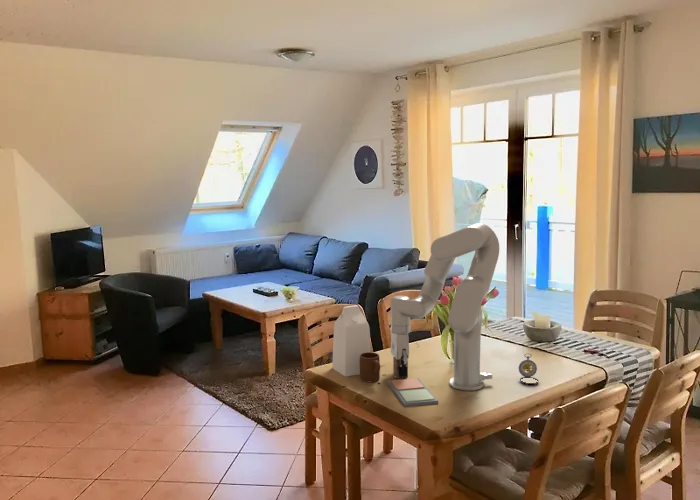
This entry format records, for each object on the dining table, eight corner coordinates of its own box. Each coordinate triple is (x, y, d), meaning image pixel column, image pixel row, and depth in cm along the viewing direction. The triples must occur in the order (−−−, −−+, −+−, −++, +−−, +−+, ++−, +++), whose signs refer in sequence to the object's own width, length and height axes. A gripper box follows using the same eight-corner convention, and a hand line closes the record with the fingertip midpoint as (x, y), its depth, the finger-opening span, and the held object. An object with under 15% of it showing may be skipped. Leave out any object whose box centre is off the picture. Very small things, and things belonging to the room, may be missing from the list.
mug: (388, 384, 220) (388, 360, 218) (369, 387, 217) (369, 363, 215) (374, 374, 231) (374, 351, 229) (356, 377, 228) (356, 353, 226)
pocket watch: (528, 387, 215) (529, 360, 214) (512, 379, 223) (513, 354, 221) (545, 383, 219) (546, 357, 218) (528, 376, 227) (529, 350, 225)
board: (418, 380, 223) (418, 377, 223) (438, 403, 202) (438, 399, 202) (387, 383, 221) (387, 379, 221) (404, 406, 199) (404, 402, 199)
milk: (358, 363, 244) (357, 301, 240) (372, 371, 234) (371, 307, 230) (332, 367, 239) (331, 305, 235) (345, 376, 229) (344, 311, 225)
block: (404, 373, 232) (404, 356, 231) (407, 377, 227) (407, 359, 226) (393, 374, 231) (393, 356, 230) (396, 378, 226) (396, 360, 225)
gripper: (385, 323, 234) (385, 366, 236) (397, 335, 217) (397, 381, 220) (403, 321, 235) (403, 365, 238) (416, 333, 219) (416, 380, 221)
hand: (400, 372), depth 229 cm, fingers open, 6 cm apart
